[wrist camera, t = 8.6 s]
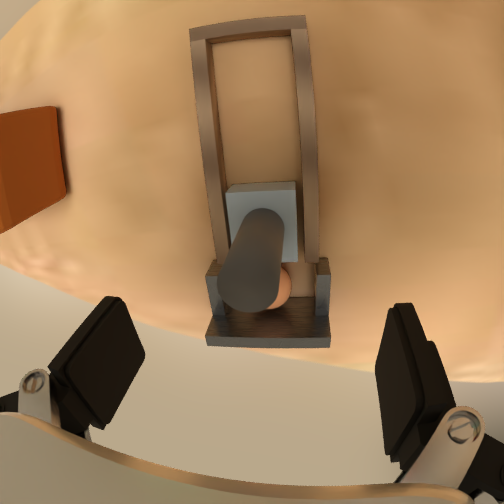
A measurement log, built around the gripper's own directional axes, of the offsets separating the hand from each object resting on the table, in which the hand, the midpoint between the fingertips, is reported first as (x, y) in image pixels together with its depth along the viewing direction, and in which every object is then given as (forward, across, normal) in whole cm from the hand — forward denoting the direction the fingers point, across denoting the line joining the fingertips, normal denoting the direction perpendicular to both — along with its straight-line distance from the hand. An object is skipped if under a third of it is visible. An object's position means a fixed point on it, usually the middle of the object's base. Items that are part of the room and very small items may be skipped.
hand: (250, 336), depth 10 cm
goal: (+13, +1, +6) cm, 15 cm away
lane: (+13, +1, -4) cm, 14 cm away
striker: (+13, +1, +1) cm, 13 cm away
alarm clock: (+13, +30, -8) cm, 33 cm away
